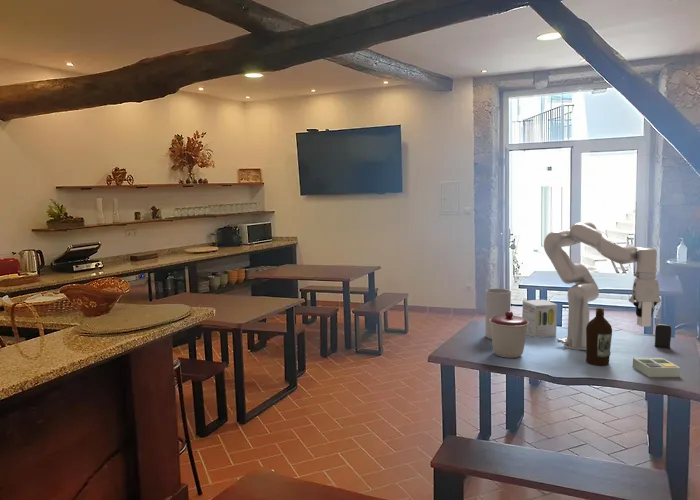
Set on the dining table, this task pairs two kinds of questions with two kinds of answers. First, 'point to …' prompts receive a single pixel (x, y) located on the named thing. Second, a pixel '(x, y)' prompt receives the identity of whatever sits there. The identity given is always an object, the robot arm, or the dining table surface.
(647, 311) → the plug
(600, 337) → the olive oil
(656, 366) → the socket block
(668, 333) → the battery charger
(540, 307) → the supplement box
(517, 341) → the canister
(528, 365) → the dining table surface
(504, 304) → the cylinder vase
